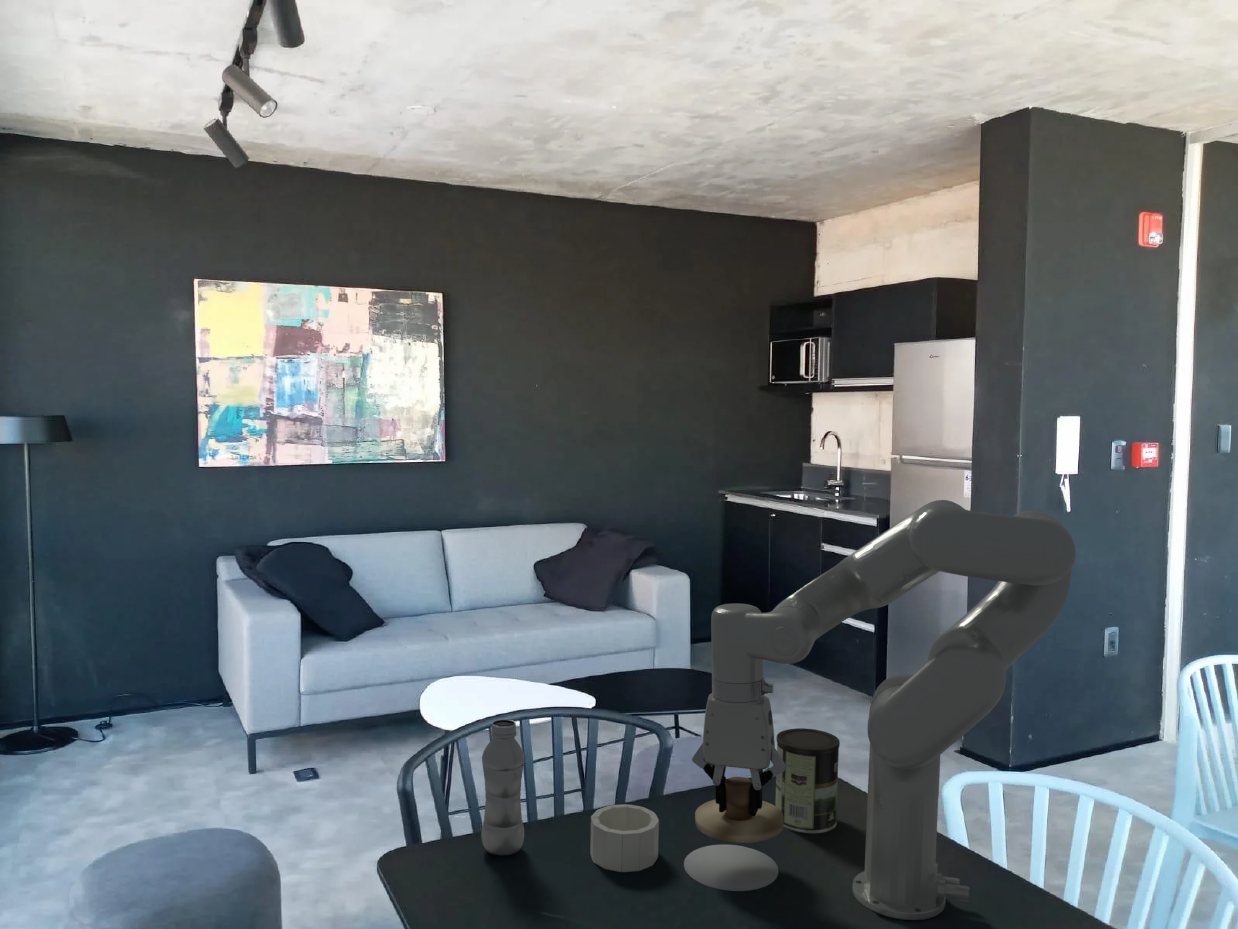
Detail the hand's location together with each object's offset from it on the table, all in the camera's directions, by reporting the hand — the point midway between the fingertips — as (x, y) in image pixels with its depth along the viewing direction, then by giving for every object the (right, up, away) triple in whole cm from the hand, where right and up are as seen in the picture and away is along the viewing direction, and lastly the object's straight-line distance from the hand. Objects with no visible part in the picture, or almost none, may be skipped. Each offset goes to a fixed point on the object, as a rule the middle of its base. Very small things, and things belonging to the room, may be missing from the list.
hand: (739, 809), depth 142 cm
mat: (-1, -9, +1) cm, 9 cm away
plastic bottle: (-36, -8, +5) cm, 37 cm away
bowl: (-17, -9, +4) cm, 19 cm away
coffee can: (+13, -8, +18) cm, 24 cm away
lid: (0, -2, 0) cm, 2 cm away
